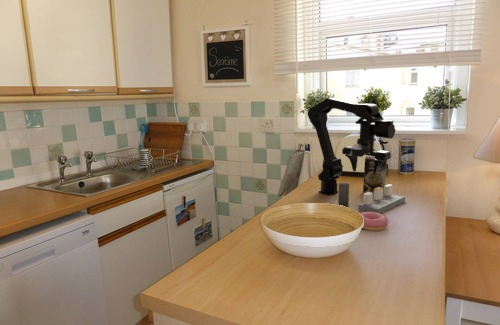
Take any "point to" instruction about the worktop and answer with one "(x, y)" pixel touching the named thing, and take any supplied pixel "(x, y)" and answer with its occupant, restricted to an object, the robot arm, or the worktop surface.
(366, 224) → the doughnut
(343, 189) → the dark grey tall block
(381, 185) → the coffee box
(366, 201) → the paddle left
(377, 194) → the block
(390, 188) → the paddle right
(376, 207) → the breaker panel
